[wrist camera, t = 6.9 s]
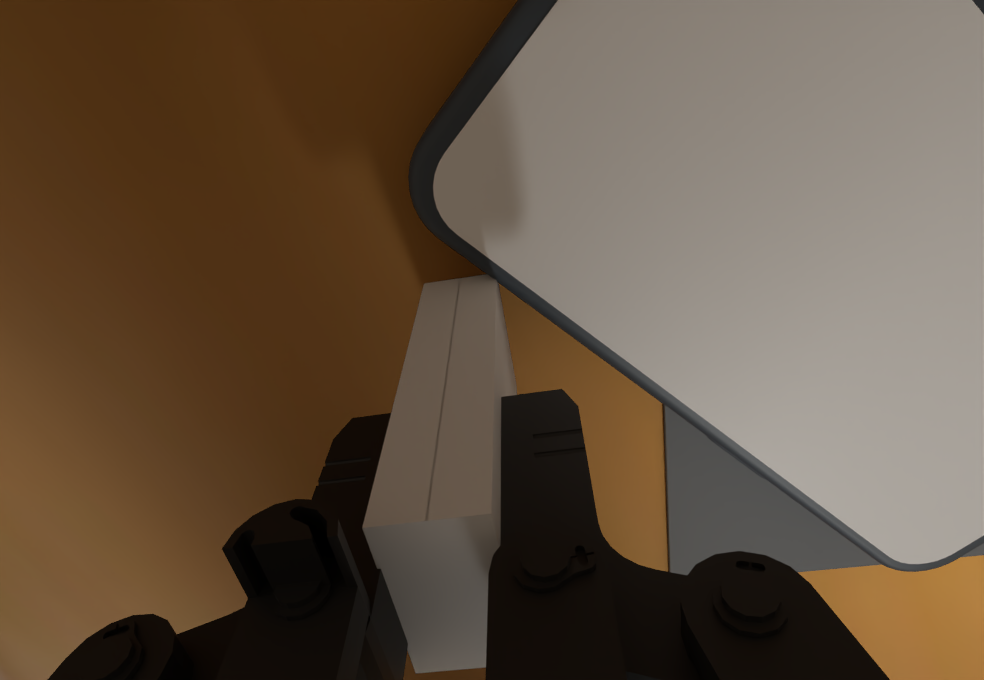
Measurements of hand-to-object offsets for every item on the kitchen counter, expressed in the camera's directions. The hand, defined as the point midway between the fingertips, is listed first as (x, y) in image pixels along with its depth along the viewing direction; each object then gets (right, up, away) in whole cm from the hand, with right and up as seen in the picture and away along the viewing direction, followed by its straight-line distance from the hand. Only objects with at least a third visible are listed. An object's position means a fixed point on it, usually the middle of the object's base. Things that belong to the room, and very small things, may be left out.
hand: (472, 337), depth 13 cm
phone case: (+7, +2, 0) cm, 8 cm away
